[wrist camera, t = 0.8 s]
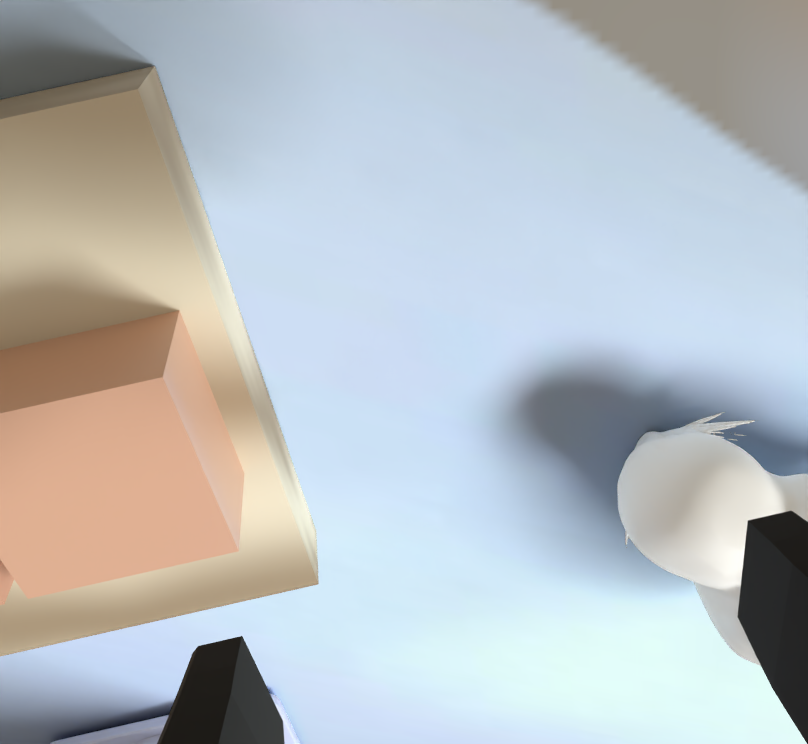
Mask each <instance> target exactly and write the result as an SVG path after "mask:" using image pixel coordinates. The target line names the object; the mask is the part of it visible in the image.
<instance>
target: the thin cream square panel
mask: <svg viewBox="0 0 808 744" xmlns="http://www.w3.org/2000/svg"><path fill="white" fill-rule="evenodd" d="M178 310H180V313H181V315H182V318H183V320H184V323H185V325H186V328H187V330H188V333H189V335H190V338H191V340H192V343H193V345H194V348H195V350H196V353H197V355H198V358H199V360H200V363H201V365H202V368H203V370H204V373H205V375H206V378H207V380H208V383H209V385H210V388H211V390H212V393H213V395H214V398H215V400H216V403H217V405H218V408H219V410H220V413H221V415H222V418H223V420H224V423H225V425H226V428H227V431H228V433H229V436H230V438H231V441H232V443H233V446H234V448H235V451H236V453H237V456H238V458H239V461H240V463H241V466H242V468H243V471H244V473H245V474H244V488H243V502H242V516H241V530H240V544H239V551H238V552H233V553H229V554H225V555H220V556H216V557H211V558H207V559H202V560H198V561H194V562H189V563H185V564H180V565H176V566H172V567H167V568H163V569H158V570H154V571H149V572H145V573H141V574H136V575H132V576H127V577H123V578H118V579H114V580H110V581H105V582H101V583H96V584H92V585H88V586H83V587H79V588H74V589H70V590H65V591H61V592H57V593H52V594H48V595H43V596H39V597H34V598H30V599H28V598H27V597H26V595H25V594H24V593H23V591H22V590H21V588H20V587H19V585H18V584H17V583H16V581H15V580H14V581H13V584H12V586H11V589H10V591H9V594H8V597H7V599H6V602H5V604H4V605H0V656H4V655H8V654H13V653H17V652H22V651H26V650H31V649H35V648H39V647H44V646H48V645H53V644H57V643H61V642H66V641H70V640H75V639H79V638H83V637H88V636H92V635H97V634H101V633H105V632H110V631H114V630H119V629H123V628H127V627H132V626H136V625H141V624H145V623H150V622H154V621H158V620H163V619H167V618H172V617H176V616H180V615H185V614H189V613H194V612H198V611H202V610H207V609H211V608H216V607H220V606H224V605H229V604H233V603H238V602H242V601H246V600H251V599H255V598H260V597H264V596H269V595H273V594H277V593H282V592H286V591H291V590H295V589H299V588H304V587H308V586H313V585H317V584H318V562H317V540H316V529H315V526H314V523H313V521H312V518H311V515H310V512H309V509H308V506H307V503H306V500H305V497H304V495H303V492H302V489H301V486H300V483H299V480H298V477H297V474H296V472H295V469H294V466H293V463H292V460H291V457H290V454H289V451H288V448H287V446H286V443H285V440H284V437H283V434H282V431H281V428H280V425H279V423H278V420H277V417H276V414H275V411H274V408H273V405H272V402H271V399H270V397H269V394H268V391H267V388H266V385H265V382H264V379H263V376H262V373H261V371H260V368H259V365H258V362H257V359H256V356H255V353H254V350H253V348H252V345H251V342H250V339H249V336H248V333H247V330H246V327H245V324H244V322H243V319H242V316H241V313H240V310H239V307H238V304H237V301H236V299H235V296H234V293H233V290H232V287H231V284H230V281H229V278H228V275H227V273H226V270H225V267H224V264H223V261H222V258H221V255H220V252H219V249H218V247H217V244H216V241H215V238H214V235H213V232H212V229H211V226H210V224H209V221H208V218H207V215H206V212H205V209H204V206H203V203H202V200H201V198H200V195H199V192H198V189H197V186H196V183H195V180H194V177H193V175H192V172H191V169H190V166H189V163H188V160H187V157H186V154H185V151H184V149H183V146H182V143H181V140H180V137H179V134H178V131H177V128H176V126H175V123H174V120H173V117H172V114H171V111H170V108H169V105H168V102H167V100H166V97H165V94H164V91H163V88H162V85H161V82H160V79H159V76H158V74H157V71H156V68H155V66H152V67H147V68H143V69H138V70H134V71H129V72H124V73H120V74H115V75H111V76H106V77H102V78H97V79H93V80H88V81H83V82H79V83H74V84H70V85H65V86H61V87H56V88H51V89H47V90H42V91H38V92H33V93H29V94H24V95H20V96H15V97H10V98H6V99H1V100H0V350H3V349H8V348H12V347H17V346H21V345H26V344H30V343H35V342H39V341H44V340H48V339H53V338H57V337H62V336H66V335H71V334H75V333H80V332H84V331H89V330H93V329H98V328H102V327H107V326H111V325H116V324H120V323H125V322H129V321H134V320H138V319H143V318H147V317H152V316H156V315H161V314H165V313H170V312H174V311H178Z"/></svg>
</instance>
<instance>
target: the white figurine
mask: <svg viewBox="0 0 808 744" xmlns="http://www.w3.org/2000/svg"><path fill="white" fill-rule="evenodd" d="M723 413H725V412H723ZM719 415H721V414H716V415H713V416H709V417H706V418H702V419H700V420H697V421H695V422H693V423H690V424H688V425H685V426H684V427H681V428H677V429H672V430H668V431H665V432H656V431H653V432H647V433H645V434H644V435H643V436H642V437H641V438H640V439H639V441H638V442H637V444H636V447H635V449H634V451H632V453H631V454H630V455H629V456H628V458H627V460H626V462H625V464H624V467H623V469H622V471H621V474H620V476H619V480H618V485H617V493H618V510H619V515H620V518H621V521H622V524H623V526H624V528H625V530H626V531H625V544H626V545H627V540H628V539H629V538H630V539H631V540H632V542H633V543H634V545H635V546H636V547H637V548H638V550H639V551H640V552H641V553H642V554H643V555H644V556H646V557H647V558H648V559H649V560H650V561H652V562H653V563H654V564H656V565H657V566H659V567H661V568H662V569H664V570H666V571H668V572H670V573H672V574H675V575H677V576H680V577H683V578H686V579H688V580H690V581H693V582H694V584H695V587H696V589H697V591H698V594H699V596H700V598H701V600H702V602H703V605H704V607H705V609H706V611H707V613H708V615H709V617H710V619H711V620H712V622H713V624H714V626H715V628H716V629H717V631H718V632H719V634H720V635H721V637H722V638H723V639H724V641H725V642H726V643H727V645H728V646H729V647H730V648H731V649H732V650H733V651H734V652H735V653H736V654H737V655H739V656H740V657H742V658H744V659H746V660H748V661H750V662H753V663H756V664H758V665H761V664H760V663H759V661H758V659H757V657H756V655H755V652H754V650H753V648H752V646H751V644H750V642H749V640H748V638H747V636H746V634H745V631H744V629H743V627H742V625H741V623H740V621H739V619H738V617H737V616H738V607H739V597H740V588H741V579H742V569H743V560H744V551H745V541H746V532H747V523H748V520H752V519H757V518H761V517H765V516H770V515H774V514H778V513H783V512H787V511H793V512H794V513H796V514H797V515H799V516H800V517H802V518H803V519H804V520H806V521H807V522H808V474H795V475H790V476H778V475H775V474H772V473H770V472H768V471H766V470H764V468H763V467H762V466H761V465H760V464H759V463H758V462H757V461H756V460H755V459H754V458H753V457H752V456H751V455H750V454H748V453H747V452H746V451H745V450H743V449H742V448H740V447H738V446H737V445H735V444H733V443H731V442H729V441H727V440H725V439H722V438H724V437H720V436H715V434H714V433H720V432H712V431H718V430H723V429H728V428H732V427H736V426H734V425H741V424H748V423H750V422H754V421H755V420H750V421H730V422H717V423H705V422H707V421H709V420H712V419H713V418H715V417H717V416H719ZM703 423H705V424H703ZM710 433H713V434H714V435H711V434H710ZM722 433H723V432H722ZM730 433H731V432H730ZM734 433H735V432H734ZM723 434H724V433H723ZM731 435H732V434H731ZM735 435H736V434H735ZM738 435H739V434H738ZM740 436H741V435H740ZM742 436H744V435H742ZM745 436H747V435H745ZM729 440H733V439H729ZM734 440H736V439H734ZM626 548H627V547H626Z"/></svg>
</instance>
